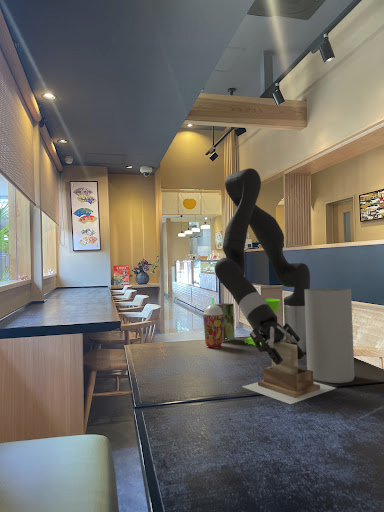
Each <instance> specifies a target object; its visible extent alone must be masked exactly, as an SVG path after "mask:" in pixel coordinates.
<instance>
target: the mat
mask: <svg viewBox="0 0 384 512" xmlns="http://www.w3.org/2000/svg"><path fill="white" fill-rule="evenodd" d="M313 382H314V384H318V385H320V389H319V390H316V391H313V392H310V393H307V394H305V395H302V396H299V397H296V398H294V397H291V396H288V395H285V394H282V393H279V392H276V391H273V390H270V389H267V388H264V387H261V386H258V381H257V382H253V383H250V384H246V385H242V386H241V388H244V389H246V390H249V391H252V392H255V393H257V394H261V395H263V396H266V397H269V398H272V399H274V400H278V401H280V402H283V403H286V404H289V405H293V404H296V403H298V402H301V401H304V400H307V399H309V398H312V397H315V396H318V395H322V394H324V393H326V392H330V391H333V390H335V389H336V386H335V387H334V386H330V385H328V384H324V383H320V382H317V381H313Z"/></svg>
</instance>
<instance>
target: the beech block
mask: <svg viewBox="0 0 384 512" xmlns="http://www.w3.org/2000/svg"><path fill="white" fill-rule="evenodd" d="M273 346H274V347H273V348H275V349H276V350H277V352H278V353H279V355H280V356H281V358H282V359H283V361H282V362H281V363H280V364H278V365H276V364H275V363H274V362H273V360H272V359H271V366H272V369H273V370H277V371H280V372H284V373H288V374H291V375H296V374H298V368H299V361H298V356H297V345H294V344H289V343H284V342H275V343H273Z"/></svg>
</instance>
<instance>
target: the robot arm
mask: <svg viewBox="0 0 384 512" xmlns="http://www.w3.org/2000/svg"><path fill="white" fill-rule="evenodd" d="M224 187H225V191H226V193H227V195H228V197H229V198H230V200H231V201H232V202H233V204H234V205H235V206H236V210H235V211H234V213H233V214H232V216H231V218H230V219H229V222H228V223H227V226H226V228H225V231H224V237H223V242H222V251H223V253H224V254H225V257H221V258H219V259H218V260H217V262H216V263H215V265H214V273H215V276H216V278H217V279H218V281H219V282H220V283H221V284H222V285H223V286H224V288H226V290H227V291H228V292H229V293H230V294H231V295H232V297H233V299H234V301H235V302H236V304H237V306H238V307H239V308H240V311H241V313H242V314H243V316H244V318H245V319H246V320H247V322H248V324H249V325H250V326H251V328H252V330H251V331H250V333H249V336H250V337H251V338H252V340H253V342H254V343H255V345H256V346H255V345H254V346H255V347H256V348H257V350H258V352H260V353H263V352H264V353H266V354H267V355H268V356H269V357H270V358H271V361H272V360H273V362H274V363H275V364H276V365H278V364H280V363H281V362H282V361H283V359H282V358H281V356H280V355H279V353H278V352H277V350H276V349H275V348H273V347H274V346H273V343H275V342H284V343H289V344H294V345H297V356H298V360H299V361H300V360H302V359H303V358H304V357H305V353H307V349H306V319H305V289H311V273H310V269H309V266H308V265H307V264H306V263H303V262H299V263H297V262H294V263H290V262H288V261H287V259H286V257H285V256H284V253H283V249H284V246H285V245H284V244H285V235H284V232H283V230H282V228H281V226H280V225H279V223H278V221H277V219H276V218H275V217H274V216H272V215H271V214H270V213H268V212H267V211H265V210H264V209H262V208H260V206H258V205H257V201H258V197H259V194H260V191H261V187H262V180H261V176H260V174H259V172H258V171H257V169H255V168H246V169H242V170H239V171H236V172H233V173H231V174H229V175H227V176H226V178H225V179H224ZM249 227H250V229H251V231H252V232H253V234H254V236H255V238H256V239H257V241H258V243H259V244H260V246H261V247H262V249H263V251H264V252H265V254H266V257H267V258H268V260H269V262H270V265H271V267H272V268H273V270H274V273H275V275H276V278H277V280H278V282H279V283H280V284H281V285H282V286H283V287H286V288H294V289H293V291H292V294H290V295H288V296H285V297H284V298H283V320H284V323H283V325H282V324H280V323H279V322H278V316H277V314H276V313H274V311H273V310H272V309H271V307H270V306H269V305H268V303H267V302H266V301H265V299H266V298H264V297H263V296H262V295H261V294H260V293H259V292H258V290H257V288H256V287H255V286H254V284H253V283H252V282H251V281H250V280H249V279H248V278H246V277H245V272H246V271H245V270H246V258H245V248H246V243H247V242H246V241H247V234H248V230H249ZM260 342H261V344H262V345H260Z"/></svg>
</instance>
